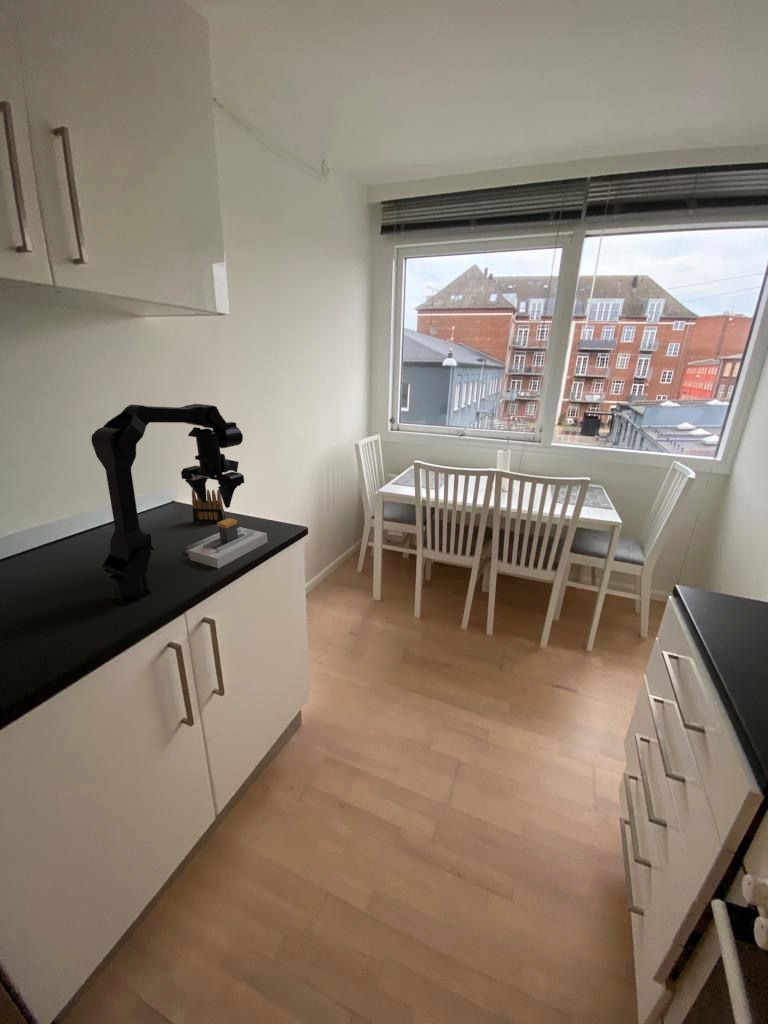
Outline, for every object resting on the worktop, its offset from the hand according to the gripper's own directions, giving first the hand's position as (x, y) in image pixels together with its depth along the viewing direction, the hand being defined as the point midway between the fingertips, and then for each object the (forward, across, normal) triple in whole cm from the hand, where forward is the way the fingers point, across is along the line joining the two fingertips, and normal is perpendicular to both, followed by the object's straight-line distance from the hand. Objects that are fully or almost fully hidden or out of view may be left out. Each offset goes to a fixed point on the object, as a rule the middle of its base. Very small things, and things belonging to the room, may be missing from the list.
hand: (215, 504), depth 120 cm
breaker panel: (+15, -2, -2) cm, 15 cm away
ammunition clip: (+15, +22, -15) cm, 31 cm away
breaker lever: (+11, -2, -2) cm, 12 cm away
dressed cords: (+15, +7, -2) cm, 16 cm away
